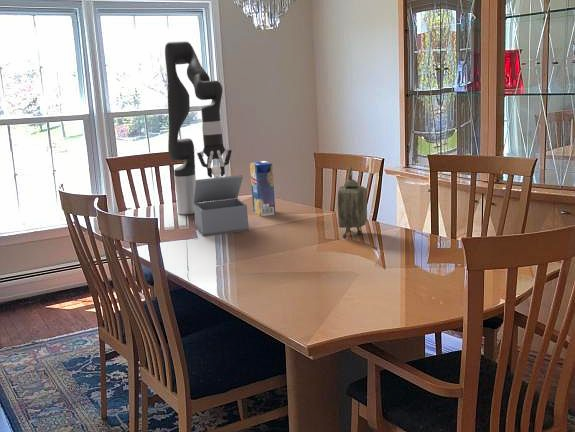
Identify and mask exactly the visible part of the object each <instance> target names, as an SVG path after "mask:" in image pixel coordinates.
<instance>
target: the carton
mask: <svg viewBox="0 0 575 432" xmlns="http://www.w3.org/2000/svg"><path fill="white" fill-rule="evenodd" d="M194 211H195V213H194V219H195V220H194V221H195V228H196V230H197V231H198V232H199V233H200V234H201V236H202V237H209V236H214V235H215V236H216V235H224V234H232V233H238V232H239V233H240V232H246V231H249V230H250V229H249V216H248V205H247V204H246V203H244V202H243V201H241V200H240V199H239V198H235V199H227V200H218V201H210V202H201V203H194Z"/></svg>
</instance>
